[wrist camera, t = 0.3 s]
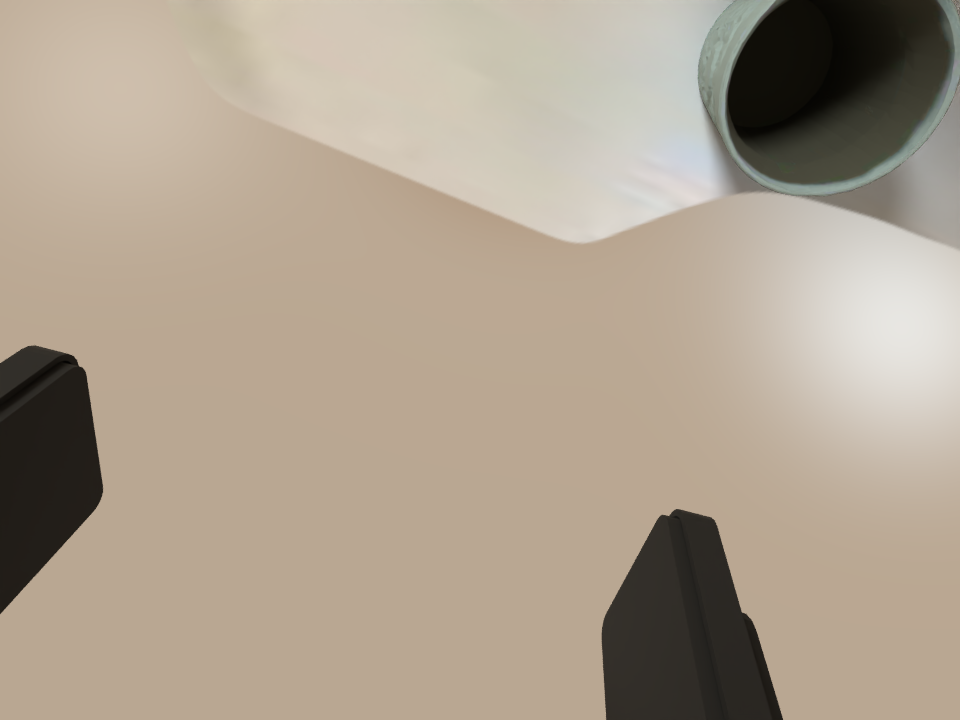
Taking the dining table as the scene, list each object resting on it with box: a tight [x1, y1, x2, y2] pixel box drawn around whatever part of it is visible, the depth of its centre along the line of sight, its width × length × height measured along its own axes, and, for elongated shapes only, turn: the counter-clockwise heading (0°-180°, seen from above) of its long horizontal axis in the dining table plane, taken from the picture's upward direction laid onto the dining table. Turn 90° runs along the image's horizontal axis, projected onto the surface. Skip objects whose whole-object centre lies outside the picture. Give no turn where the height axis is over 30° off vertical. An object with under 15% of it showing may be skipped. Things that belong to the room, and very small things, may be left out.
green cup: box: [698, 0, 960, 196], centre depth 33 cm, size 10×10×12 cm
